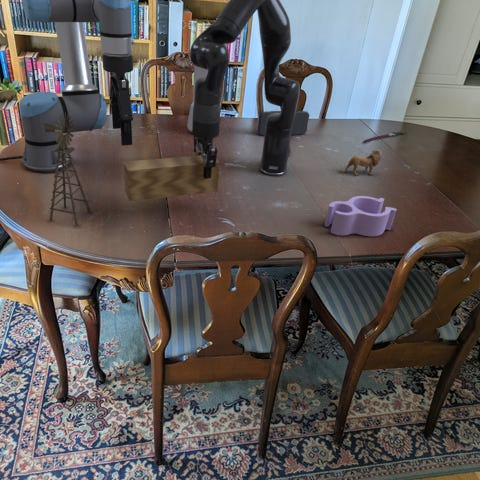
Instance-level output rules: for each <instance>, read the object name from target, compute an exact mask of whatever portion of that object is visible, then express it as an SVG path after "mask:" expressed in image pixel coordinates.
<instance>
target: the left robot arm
mask: <svg viewBox="0 0 480 480" xmlns="http://www.w3.org/2000/svg"><path fill="white" fill-rule="evenodd" d="M21 3H22V9H23V13H24V16H25V17H26V20H28V21H30V22H35V23H42V24H44V23H45V24H46V23H54V26H55V32H56V37H57V38H56V39H57V44H58V50H59V55H60V61H61V68H62V74H63V80H64V86H63V88H62V89H61V96H58V94H57V93H56V92H54V91H37V92H32V93H29V94H27V95H25V96H23V97H22V98H21V99H20V100H19V103H18V104H19V116H20V118H21V125H22V130H23V131H22V132H23V137H24V148H23V153H22V155H17V156H16V155H15V156H6V157H1V158H0V162H5V161H13V160H21V161H22V166H23V168H24V169H25V170H27V171H29V172H33V173H39V174H46V173H56V165H57V162H56V159H57V157H58V153H57V152H53V151H52V150H54V149H56V148H57V147H59V146H58V145H57V144H58V142H59V141H58V142H56V139H57V138H58V137H59V136H60V135H59V136H58V137H56V138H55V135H56V134H58V132H45V125H44V123H45V124H49V125H52V126H54V127H56V125H55V124H57V125H58V126H59V123H58V122H57V119H58V120H59V122H60V124H61V125H62V123H63V121H62V123H61V120H63V118H64V125H63V126H64V128H63V129H64V130H65V132H62V133H63V134H66V131H67V129H66V128H67V127H65V125H67V123H68V120H69V118H70V116H71V118H70V120H69V123H70V122H71V121H72V119H73V121H72V123H71V124H70V125H69V123H68V125H69V126H68V125H67V126H68V127H70V126H71V125H73V124H74V125H73V127H71V128H70V129H68V130H73V129H74V131H73V132H72V133H77V132H87V131H89V132H92V131H95V130H101V129H102V128H103V127H104V126H105V124H106V121H107V114H108V110H107V108H108V107H107V101H106V98H105V96H104V94H102V93H100V92H99V89H98V87H97V86H96V85H95V84H94V83H93V78H92V73H91V72H92V71H91V65H90V59H89V53H88V52H89V51H88V46H87V39H86V32H85V25H84V23H98V24H99V29H100V32H99V33H100V37H99V38H100V49H101V52H102V56H101V58H102V59H101V60H102V69H103V70H104V71H105V72H107V73H109V97H108V99H109V101H110V104H111V122H112V129H113V130H117V129H119V130H120V139H121V140H120V141H121V142H120V143H121V146H133V128H132V126H133V125H132V124H133V123H132V121H134V117H133V115H134V114H133V108H132V100H131V93H130V80H129V79H128V78H127V77H126V74H127V73H132V72H133V71H134V56H133V55H132V54H133V45H135V40H134V39H133V32H132V31H133V26H132V0H21ZM62 113H63V117H62ZM65 113H66V119H65ZM68 114H69V115H68ZM67 115H68V119H67ZM59 116H60V117H61V120H60V117H59ZM66 120H67V123H66ZM63 126H62V127H63ZM60 127H61V126H60ZM62 127H61V128H62ZM56 129H58V128H57V127H56ZM59 133H60V132H59ZM69 133H71V132H69ZM59 140H60V139H59ZM64 151H66V150H64ZM61 155H62V153H60V156H61ZM65 156H67V157H69V156H68V154H65ZM67 160H69V158H66V161H67ZM59 161H62V157H61V158H60V159H59ZM60 163H61V162H59V164H60ZM70 166H71V162H70V161H69V162H68V163H67V167H68V168H69V167H70ZM64 169H66V168H65V163H64ZM60 171H62V164H61V165H60V166H59V168H58V172H60Z"/></svg>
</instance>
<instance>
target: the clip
mask: <svg viewBox="0 0 480 480" xmlns="http://www.w3.org/2000/svg"><path fill="white" fill-rule="evenodd" d="M384 201H385V198H383V197H379V198H376V197H373V196H368V195H357V196H352V197H350V198H349V200H347V201H339V200H338V201H337V200H335V201H332V202H330V203H329V205H328V208H327V214H326V218H325V222H324V227H326V228H329V227H330V226H331V227H330V233H331V234H333V235H336V236H348V235H353V234H356V235H360V236H364V237H365V236H366V237H378V236H381V235H382V234H384V232H385V230H387V231H391V229H392V226H393V222H394V219H395V216H396V213H397V210H398V209H397V208H395V207H391V206H385V207H384V211H383V212H382V209H383V206H384Z"/></svg>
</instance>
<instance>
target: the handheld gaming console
mask: <svg viewBox="0 0 480 480" xmlns="http://www.w3.org/2000/svg"><path fill="white" fill-rule="evenodd" d="M281 111H282V110H269V111H267V110H266V111H260V113H258V123H257V133H258V135H260V136H265V128H266V120H267V117H268V116H269V115H271V114H275V113H281ZM309 120H310V113H309V112H308V111H305V110H296V114H295V118H294V121H293V125H292V131H291V136H292V135H305V134H306V133H307V132H308V123H309Z"/></svg>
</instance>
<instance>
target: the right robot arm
mask: <svg viewBox="0 0 480 480" xmlns="http://www.w3.org/2000/svg"><path fill="white" fill-rule="evenodd" d="M256 12H257V18H258V29H259V38H260V45H261V52H262V61H263V84H264V88H263V89H264V97H265V100H266V101H267V103H269V104H271V105H274V106H277V107H281V110H280V111H281V113H275V114H271V115H269V116H268V117H267V120H266V128H265V135H263V136H264V138H263V146H262V153H261V161H260V167H259V170H260V172H262V173H263V174H265V175H268V176H273V177H277V176H282V175H285V174H286V171H287V166H288V159H289V154H290V153H291V148H290V146H291V145H290V143H291V138H292V135H291V131H292V125H293V121H294V118H295V114H296V111H297V109H298V103H299V99H300V94H301V93H300V92H301V86H300V85H301V84H300V83H299V81H298V80H295V79H291V78H287V77H284V76H283V77H282V76H281V75H280V65H281V62H282V60H283V59H284V57H285V56H286V54H287V52H288V51H289V49H290V46H291V43H292V35H291V34H292V33H291V21H290V18H289V16H288V13H287V11H286V10H285V7H284V6H283V4H282V2H281V1H280V0H229V1H228V2H227V3H226V4H225V5H224V6H223V8H222V9H221V11H220V13H219V14H218V15H217V18H216V19H215V21H214V22H213V23H212V24H210V25H209V26H208V27H207V28H206V29H204V31H202V32H201V33H200V34H199V35H198V36H197V37H196V38H195V39H194V40H193V42H192V43H191V46H190V49H189V60H190V62H191V63H192V64H193V66H197V67H200V68H203V69H206V70H208V73H207V76H206V77H204V78H199V79H197V80H196V82H195V93H194V106H193V122H192V133H191V134H193V152H194V153H195V155H194V156H200V155H201V158H202V159H203V162H204V174H203V177H204V178H205V179H207V178H211V173H212V167H215V166H216V159H218V158H217V155H218V147H215V143H214V139H215V138H217V137H218V136H219V134H220V123H221V93H222V91H221V90H222V86H223V82H224V80H225V77H226V75H227V74H226V73H227V71H228V67H229V64H230V53H229V50H228V48H227V46H226V45H227V44H228V45H229V44H233V43H235V42H236V40H237V39H238V37H239V36H241V33H242V31H243V30H244V29H245V27H246V26H247V24H248V22H249V21H250V20H251V18H252V17H253V15H254V14H255V13H256ZM205 155H207V156H205ZM206 159H207V160H206Z"/></svg>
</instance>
